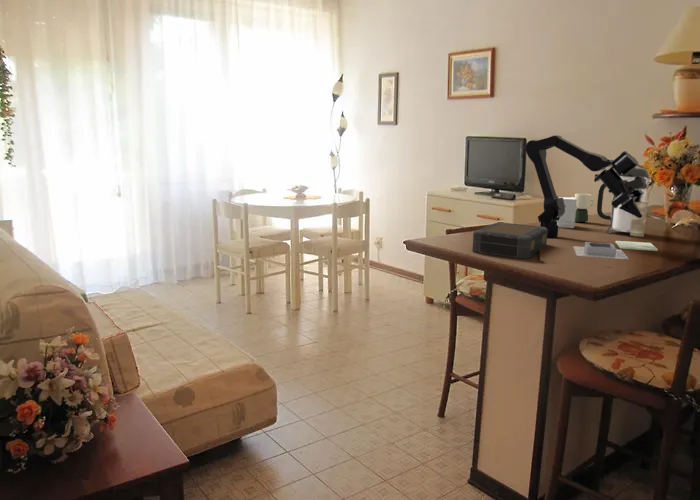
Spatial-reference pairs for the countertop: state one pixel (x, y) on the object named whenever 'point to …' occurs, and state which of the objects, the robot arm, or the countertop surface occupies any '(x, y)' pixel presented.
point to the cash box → (509, 240)
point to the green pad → (636, 245)
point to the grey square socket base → (600, 250)
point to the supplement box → (568, 213)
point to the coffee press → (619, 217)
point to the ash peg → (639, 220)
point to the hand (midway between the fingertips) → (643, 216)
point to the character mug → (583, 206)
